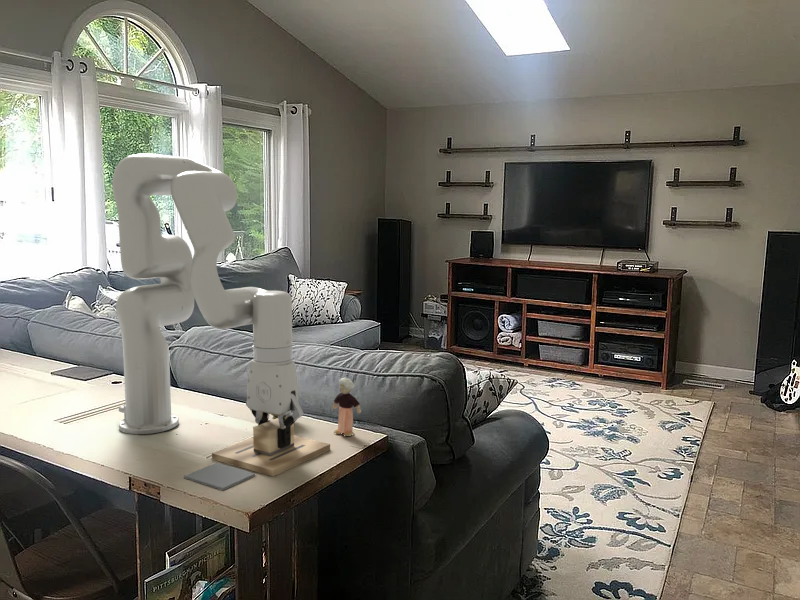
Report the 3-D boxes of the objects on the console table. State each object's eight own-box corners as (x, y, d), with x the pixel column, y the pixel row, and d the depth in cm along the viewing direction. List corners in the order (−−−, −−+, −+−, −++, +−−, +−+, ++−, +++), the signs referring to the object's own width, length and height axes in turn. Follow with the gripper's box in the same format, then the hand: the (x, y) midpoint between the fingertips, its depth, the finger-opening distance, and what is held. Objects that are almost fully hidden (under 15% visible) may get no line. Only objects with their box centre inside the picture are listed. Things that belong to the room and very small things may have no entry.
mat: (183, 477, 127) (183, 475, 127) (216, 464, 134) (216, 462, 134) (222, 490, 122) (222, 488, 122) (255, 475, 129) (255, 473, 128)
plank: (211, 458, 137) (211, 453, 136) (271, 435, 151) (271, 429, 151) (273, 476, 128) (272, 470, 128) (330, 449, 142) (330, 444, 142)
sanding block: (253, 451, 137) (253, 427, 136) (277, 441, 143) (277, 418, 142) (270, 455, 135) (269, 431, 134) (294, 445, 141) (293, 421, 140)
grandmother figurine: (326, 434, 152) (326, 377, 150) (334, 429, 155) (334, 374, 154) (357, 439, 149) (357, 381, 147) (365, 434, 152) (366, 377, 151)
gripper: (228, 352, 138) (230, 441, 140) (293, 363, 129) (294, 458, 131) (254, 346, 144) (256, 431, 147) (318, 355, 135) (319, 446, 138)
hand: (274, 442), depth 139 cm, fingers closed on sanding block, 4 cm apart
